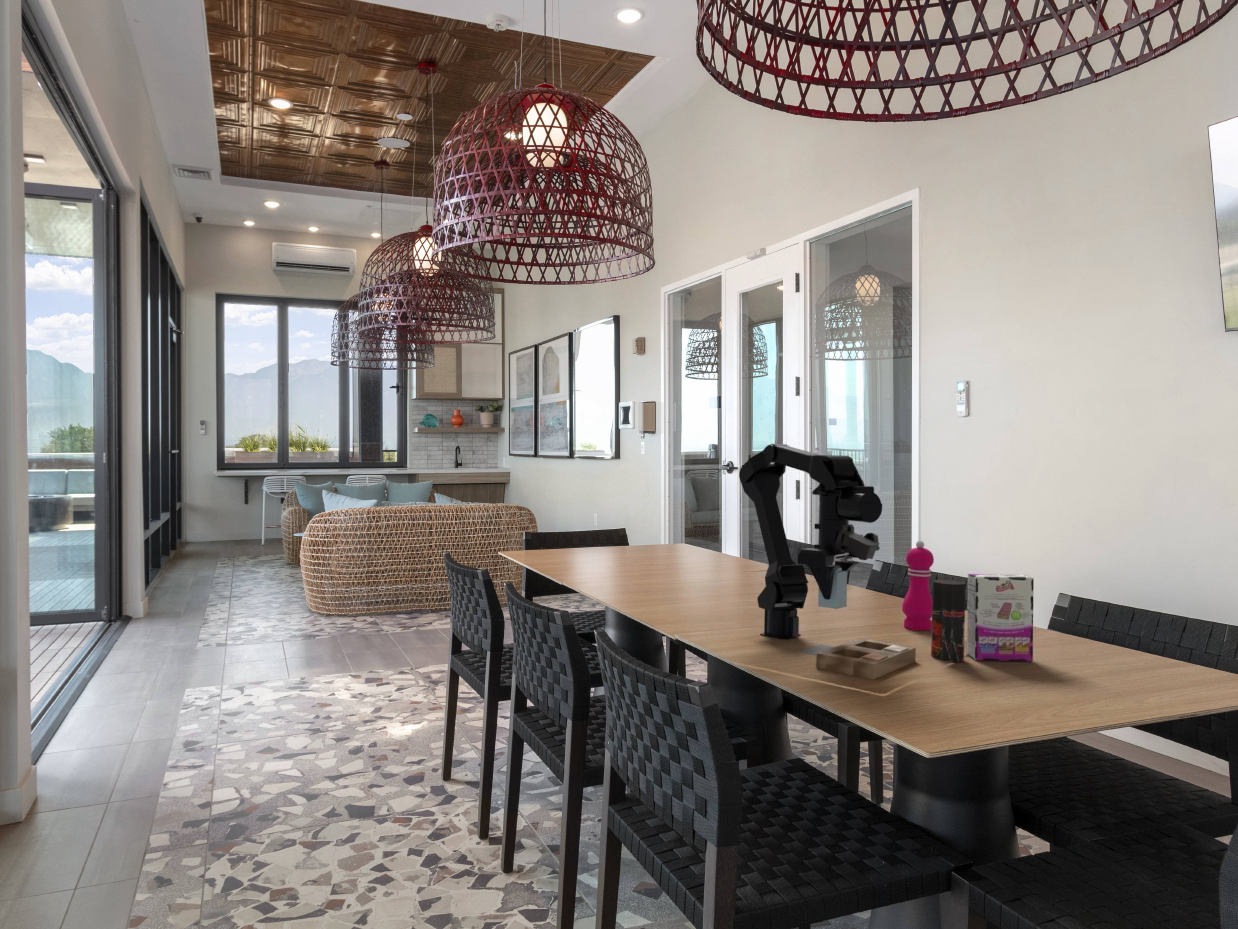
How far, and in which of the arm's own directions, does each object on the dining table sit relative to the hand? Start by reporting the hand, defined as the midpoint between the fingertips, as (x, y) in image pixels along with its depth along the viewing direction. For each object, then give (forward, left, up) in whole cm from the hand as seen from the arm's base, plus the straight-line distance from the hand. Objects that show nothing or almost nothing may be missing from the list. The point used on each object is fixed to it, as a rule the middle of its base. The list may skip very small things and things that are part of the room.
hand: (832, 598), depth 164 cm
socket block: (+9, -4, -11) cm, 15 cm away
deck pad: (0, 0, -11) cm, 11 cm away
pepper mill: (+2, +38, -11) cm, 40 cm away
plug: (0, 0, -2) cm, 2 cm away
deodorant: (+18, +13, -11) cm, 25 cm away
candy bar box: (+25, +21, -11) cm, 34 cm away
